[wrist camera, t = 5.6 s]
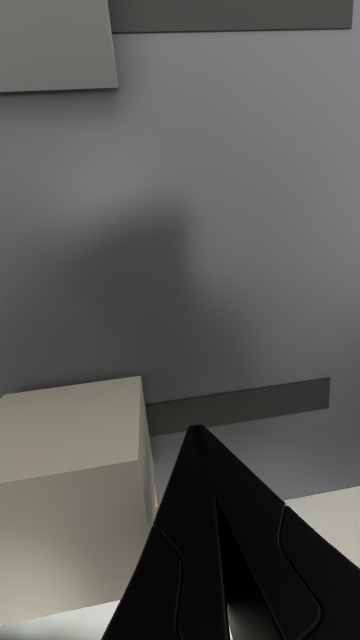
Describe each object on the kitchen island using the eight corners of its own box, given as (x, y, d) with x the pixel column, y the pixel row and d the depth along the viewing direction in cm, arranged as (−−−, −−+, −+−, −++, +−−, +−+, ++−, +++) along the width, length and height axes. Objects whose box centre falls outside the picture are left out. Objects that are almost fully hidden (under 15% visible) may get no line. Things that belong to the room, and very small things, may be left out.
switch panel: (378, -141, 8) (458, -276, 6) (335, 449, 13) (369, 485, 11) (-269, -170, 6) (-465, -367, 4) (-20, 511, 11) (-54, 566, 9)
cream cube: (140, 375, 8) (138, 459, 5) (153, 468, 9) (158, 590, 6) (4, 394, 8) (-96, 498, 5) (32, 488, 9) (-35, 633, 6)
